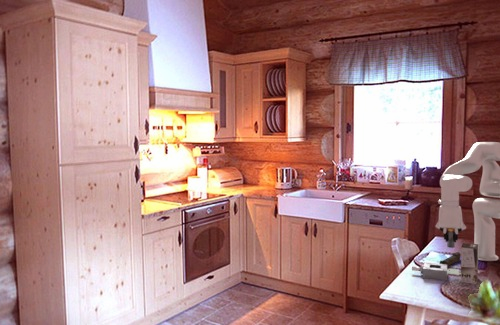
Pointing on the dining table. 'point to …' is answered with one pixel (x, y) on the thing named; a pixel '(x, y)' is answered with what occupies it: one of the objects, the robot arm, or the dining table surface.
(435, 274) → the chuck
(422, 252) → the dining table surface
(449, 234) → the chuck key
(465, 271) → the coffee box
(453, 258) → the hand tool
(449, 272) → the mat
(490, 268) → the dining table surface
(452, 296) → the dining table surface
